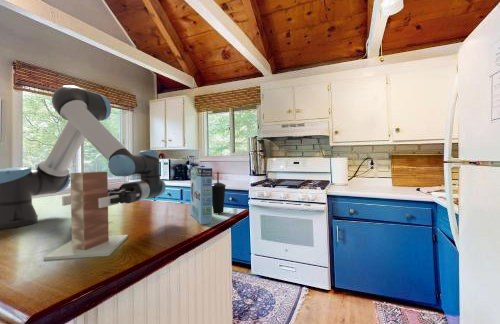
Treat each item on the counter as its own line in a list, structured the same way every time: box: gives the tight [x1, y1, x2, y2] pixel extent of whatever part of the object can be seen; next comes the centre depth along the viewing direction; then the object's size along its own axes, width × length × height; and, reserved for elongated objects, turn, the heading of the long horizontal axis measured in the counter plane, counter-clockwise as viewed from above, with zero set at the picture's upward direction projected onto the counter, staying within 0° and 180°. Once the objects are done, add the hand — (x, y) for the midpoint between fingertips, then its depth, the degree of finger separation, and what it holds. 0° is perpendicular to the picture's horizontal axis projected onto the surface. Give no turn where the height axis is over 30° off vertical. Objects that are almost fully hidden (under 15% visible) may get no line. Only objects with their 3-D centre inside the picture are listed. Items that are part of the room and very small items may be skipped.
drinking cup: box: [212, 171, 227, 214], centre depth 118 cm, size 8×8×20 cm
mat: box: [43, 234, 129, 261], centre depth 74 cm, size 16×16×1 cm
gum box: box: [190, 165, 213, 226], centre depth 106 cm, size 20×5×23 cm, turn 26°
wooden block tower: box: [69, 171, 110, 250], centre depth 73 cm, size 5×8×22 cm, turn 165°
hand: (80, 202), depth 70 cm, fingers open, 13 cm apart
